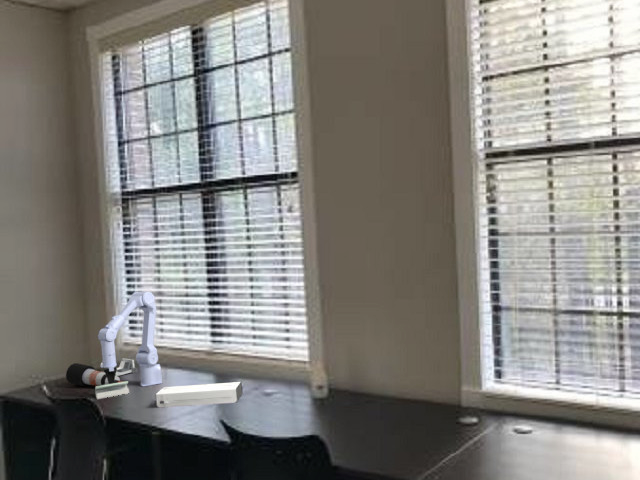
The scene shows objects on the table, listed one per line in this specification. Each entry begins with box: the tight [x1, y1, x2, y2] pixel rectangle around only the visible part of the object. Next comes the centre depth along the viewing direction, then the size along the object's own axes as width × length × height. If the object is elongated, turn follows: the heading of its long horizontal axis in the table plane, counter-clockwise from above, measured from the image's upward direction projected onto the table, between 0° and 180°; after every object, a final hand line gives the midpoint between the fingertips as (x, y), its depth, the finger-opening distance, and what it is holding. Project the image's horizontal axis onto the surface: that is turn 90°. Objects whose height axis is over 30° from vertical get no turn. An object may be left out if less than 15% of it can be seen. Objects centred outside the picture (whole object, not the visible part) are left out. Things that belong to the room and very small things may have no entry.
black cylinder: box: [65, 362, 123, 388], centre depth 337 cm, size 10×34×10 cm, turn 57°
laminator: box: [155, 381, 243, 409], centre depth 293 cm, size 34×12×6 cm, turn 86°
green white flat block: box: [94, 384, 130, 400], centre depth 318 cm, size 14×7×2 cm, turn 112°
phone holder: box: [99, 357, 138, 377], centre depth 361 cm, size 18×10×12 cm
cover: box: [94, 380, 129, 391], centre depth 318 cm, size 14×7×1 cm, turn 112°
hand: (111, 384), depth 317 cm, fingers closed, pressing on cover
